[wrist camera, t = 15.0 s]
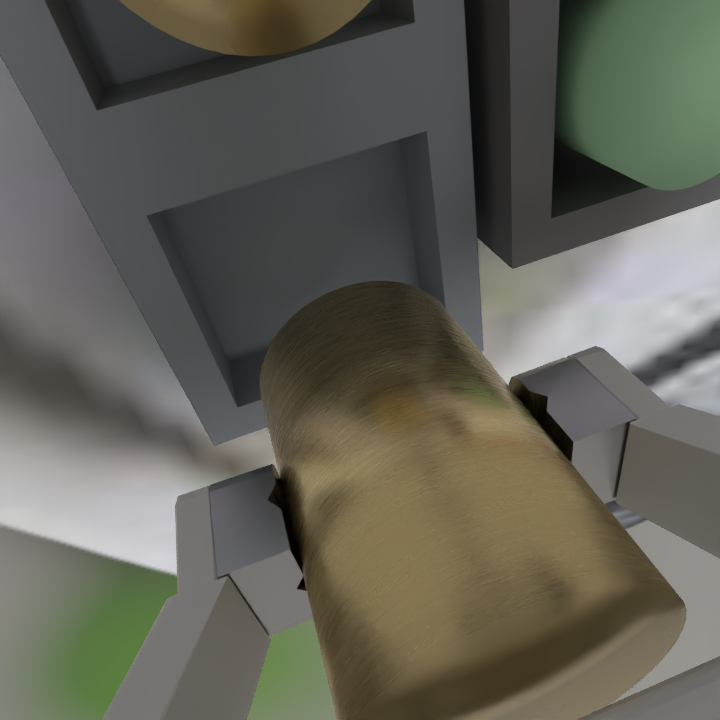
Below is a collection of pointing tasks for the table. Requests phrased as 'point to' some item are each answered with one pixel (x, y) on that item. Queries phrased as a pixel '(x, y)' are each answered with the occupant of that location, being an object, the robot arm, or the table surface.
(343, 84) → the compartment tray
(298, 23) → the billet
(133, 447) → the table surface
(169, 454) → the table surface
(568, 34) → the button
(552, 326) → the table surface
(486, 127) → the button housing
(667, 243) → the table surface
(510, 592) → the cylinder
